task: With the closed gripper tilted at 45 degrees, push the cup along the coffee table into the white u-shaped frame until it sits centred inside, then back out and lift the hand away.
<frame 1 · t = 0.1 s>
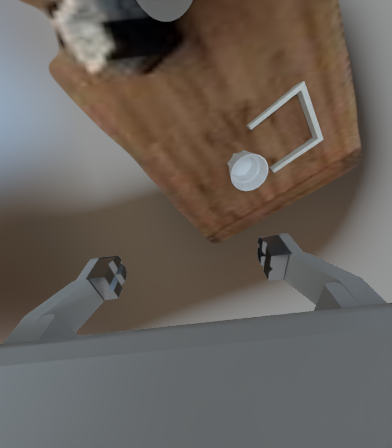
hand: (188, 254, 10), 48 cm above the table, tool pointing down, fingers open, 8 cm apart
white u-shaped frame: (281, 133, 50), on the table
cup: (240, 163, 55), on the table
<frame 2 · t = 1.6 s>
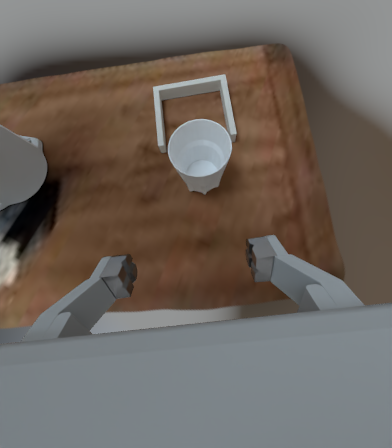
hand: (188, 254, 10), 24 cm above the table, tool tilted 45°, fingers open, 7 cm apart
white u-shaped frame: (194, 120, 39), on the table
cup: (201, 176, 37), on the table
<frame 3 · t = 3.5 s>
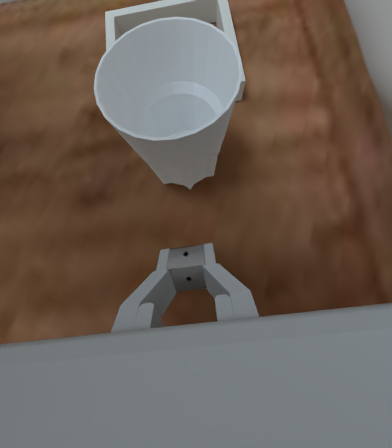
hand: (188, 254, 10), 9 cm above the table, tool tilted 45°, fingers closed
white u-shaped frame: (173, 68, 24), on the table
cup: (185, 158, 21), on the table
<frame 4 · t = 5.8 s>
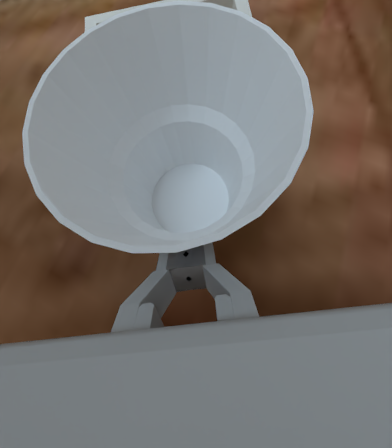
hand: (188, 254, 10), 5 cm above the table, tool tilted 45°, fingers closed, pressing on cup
white u-shaped frame: (175, 90, 18), on the table
cup: (190, 201, 16), on the table, touching gripper
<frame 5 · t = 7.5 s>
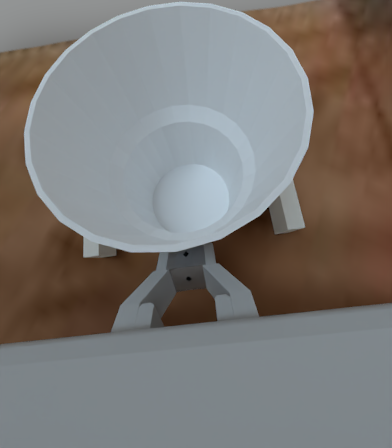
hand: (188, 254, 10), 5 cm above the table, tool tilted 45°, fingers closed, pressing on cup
white u-shaped frame: (184, 172, 16), on the table
cup: (191, 202, 16), on the table, touching gripper
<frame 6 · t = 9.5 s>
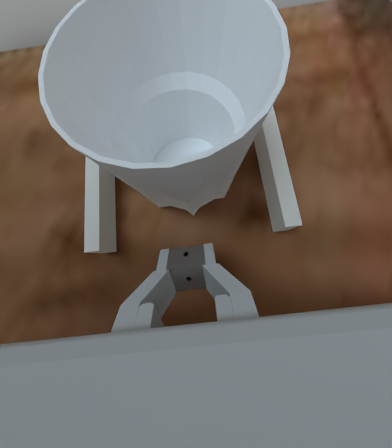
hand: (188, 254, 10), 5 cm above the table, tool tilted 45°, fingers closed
white u-shaped frame: (184, 170, 16), on the table
cup: (188, 174, 17), on the table
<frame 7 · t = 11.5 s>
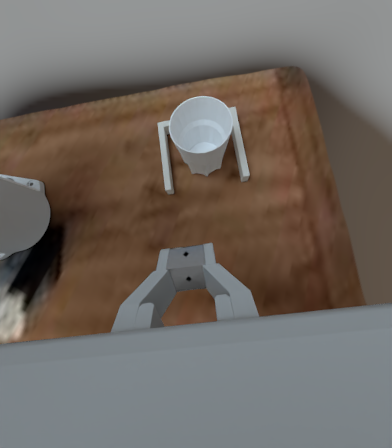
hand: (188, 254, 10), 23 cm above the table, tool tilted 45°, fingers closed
white u-shaped frame: (202, 157, 36), on the table
cup: (203, 158, 37), on the table
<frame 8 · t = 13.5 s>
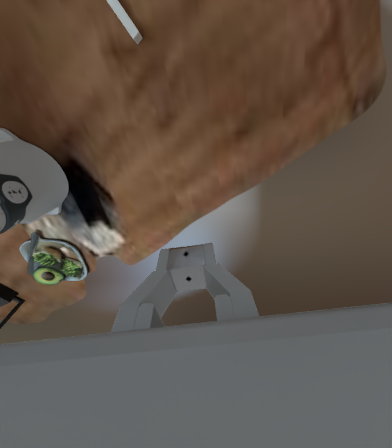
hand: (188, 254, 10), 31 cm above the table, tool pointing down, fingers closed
salad plate: (58, 259, 53), on the table
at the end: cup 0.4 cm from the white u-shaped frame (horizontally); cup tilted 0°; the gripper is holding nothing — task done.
